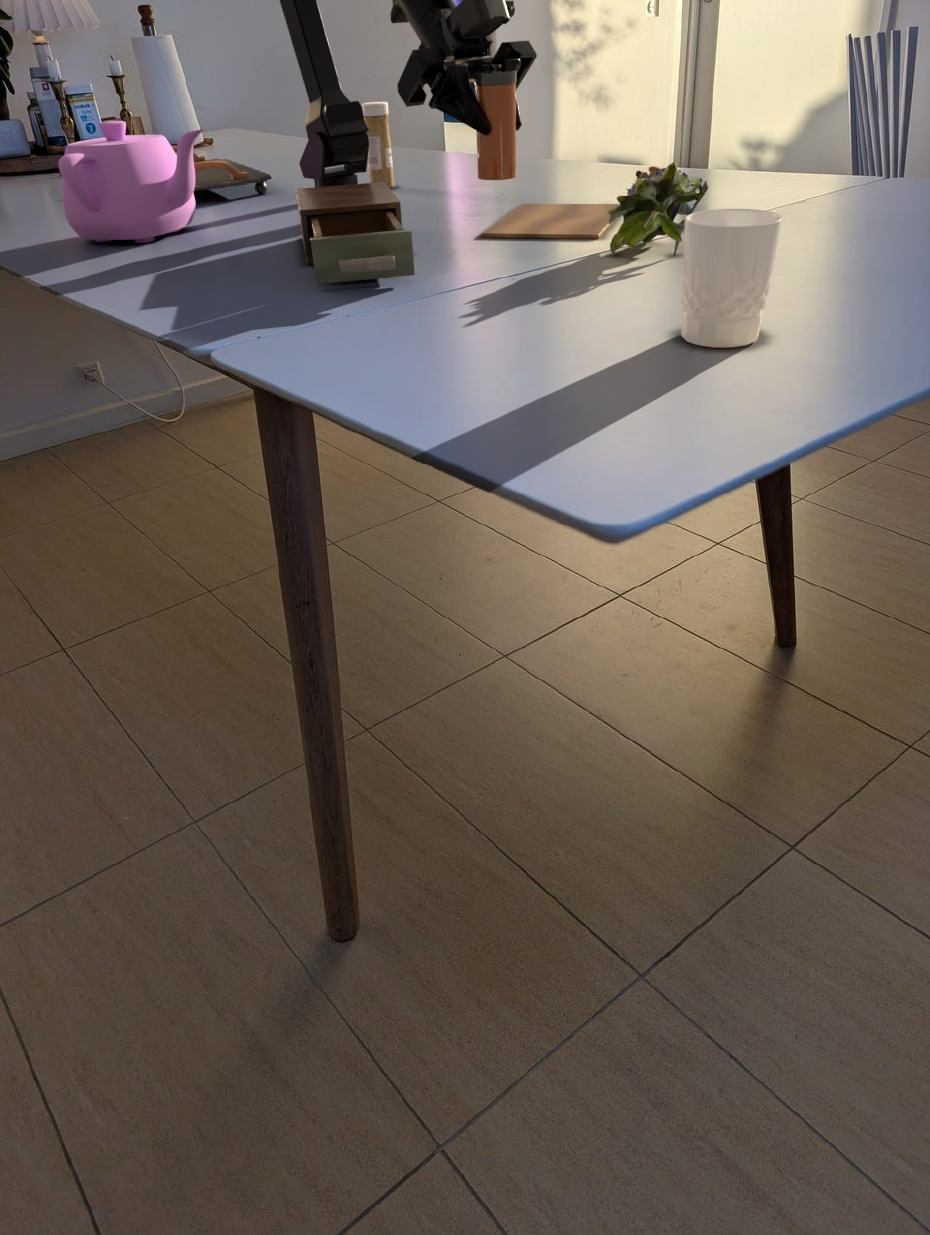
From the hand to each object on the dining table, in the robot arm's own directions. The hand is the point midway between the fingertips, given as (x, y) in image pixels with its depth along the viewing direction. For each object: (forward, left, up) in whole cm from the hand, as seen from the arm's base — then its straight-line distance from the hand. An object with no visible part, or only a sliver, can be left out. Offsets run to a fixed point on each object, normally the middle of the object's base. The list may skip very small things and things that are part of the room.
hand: (504, 130), depth 106 cm
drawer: (-7, -19, -13) cm, 24 cm away
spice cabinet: (-20, -8, -13) cm, 26 cm away
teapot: (-56, -17, -14) cm, 60 cm away
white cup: (+39, -20, -14) cm, 46 cm away
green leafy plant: (+17, +8, -14) cm, 23 cm away
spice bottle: (-1, 0, -5) cm, 5 cm away
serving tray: (-86, +14, -14) cm, 88 cm away
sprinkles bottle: (-51, +30, -14) cm, 60 cm away
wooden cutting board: (-4, +18, -13) cm, 23 cm away
